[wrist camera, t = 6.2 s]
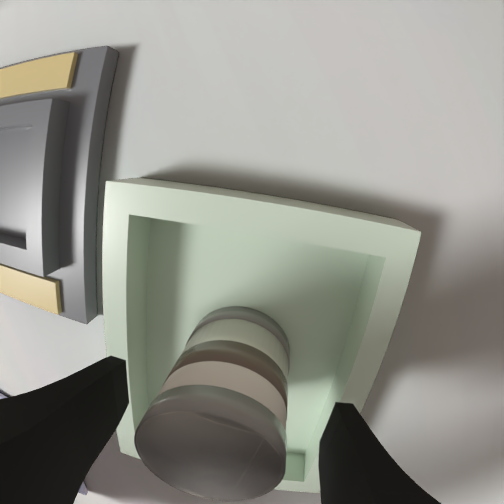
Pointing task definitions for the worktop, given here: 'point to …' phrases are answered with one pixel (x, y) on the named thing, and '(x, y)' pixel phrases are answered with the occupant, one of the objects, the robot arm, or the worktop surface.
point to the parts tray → (252, 293)
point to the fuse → (222, 410)
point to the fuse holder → (53, 178)
